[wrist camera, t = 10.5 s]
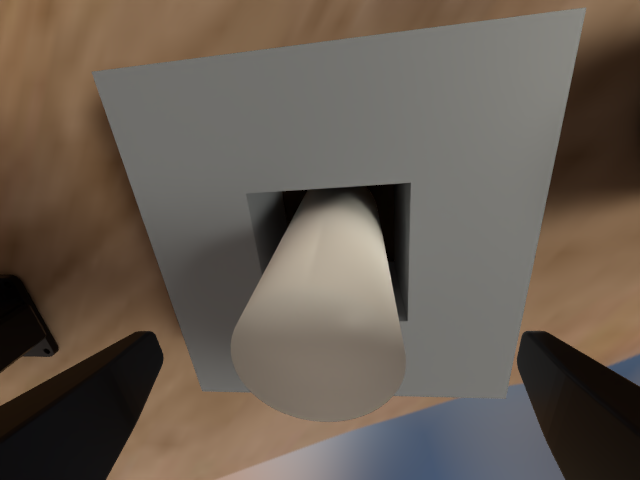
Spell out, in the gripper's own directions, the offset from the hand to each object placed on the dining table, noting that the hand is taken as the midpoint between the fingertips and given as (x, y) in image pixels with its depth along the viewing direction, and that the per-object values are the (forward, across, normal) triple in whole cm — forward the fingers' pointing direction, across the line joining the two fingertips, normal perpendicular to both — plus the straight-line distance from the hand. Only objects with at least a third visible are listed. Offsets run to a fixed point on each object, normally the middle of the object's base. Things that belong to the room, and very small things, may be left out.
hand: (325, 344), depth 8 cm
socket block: (+9, 0, 0) cm, 9 cm away
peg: (+9, 0, 0) cm, 9 cm away
